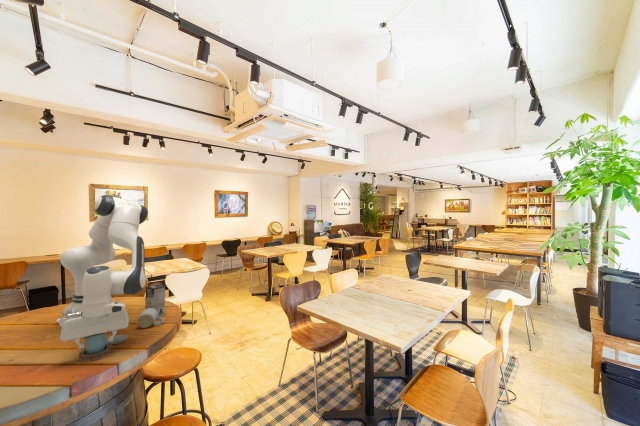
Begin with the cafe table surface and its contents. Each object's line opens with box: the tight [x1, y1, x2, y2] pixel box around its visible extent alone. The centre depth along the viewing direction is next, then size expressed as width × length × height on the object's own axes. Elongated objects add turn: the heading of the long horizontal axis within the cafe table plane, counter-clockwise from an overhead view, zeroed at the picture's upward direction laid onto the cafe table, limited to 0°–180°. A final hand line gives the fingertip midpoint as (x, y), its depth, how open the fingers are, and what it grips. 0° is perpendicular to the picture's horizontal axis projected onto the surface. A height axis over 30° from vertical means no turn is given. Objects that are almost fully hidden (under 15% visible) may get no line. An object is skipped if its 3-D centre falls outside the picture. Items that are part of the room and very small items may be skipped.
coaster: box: [105, 334, 129, 346], centre depth 114 cm, size 9×9×1 cm
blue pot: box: [85, 333, 106, 355], centre depth 104 cm, size 10×6×8 cm, turn 41°
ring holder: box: [78, 344, 112, 363], centre depth 102 cm, size 9×9×2 cm
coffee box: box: [144, 283, 166, 318], centre depth 145 cm, size 9×6×16 cm
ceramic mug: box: [136, 308, 164, 329], centre depth 131 cm, size 11×8×8 cm
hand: (96, 345), depth 102 cm, fingers open, 7 cm apart
